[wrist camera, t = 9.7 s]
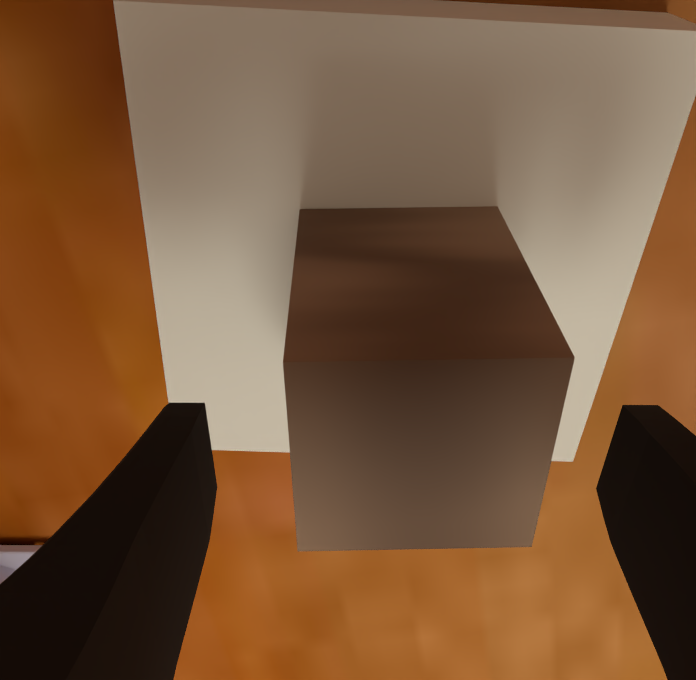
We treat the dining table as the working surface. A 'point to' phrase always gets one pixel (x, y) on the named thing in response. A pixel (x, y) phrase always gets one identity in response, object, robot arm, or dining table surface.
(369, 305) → the walnut block
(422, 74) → the base block
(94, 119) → the dining table surface
